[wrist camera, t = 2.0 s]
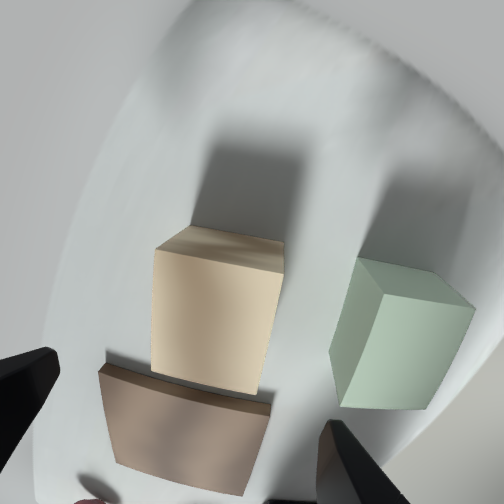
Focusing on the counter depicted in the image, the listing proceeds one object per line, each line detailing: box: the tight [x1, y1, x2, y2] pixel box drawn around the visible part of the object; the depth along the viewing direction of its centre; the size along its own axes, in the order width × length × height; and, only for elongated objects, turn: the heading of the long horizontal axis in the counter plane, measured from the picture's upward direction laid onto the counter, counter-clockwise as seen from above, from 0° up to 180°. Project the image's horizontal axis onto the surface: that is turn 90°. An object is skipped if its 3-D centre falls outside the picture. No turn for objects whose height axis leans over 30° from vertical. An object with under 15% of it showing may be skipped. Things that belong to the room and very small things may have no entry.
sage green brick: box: [329, 257, 476, 410], centre depth 15 cm, size 5×6×5 cm
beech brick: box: [151, 225, 284, 395], centre depth 15 cm, size 5×6×5 cm
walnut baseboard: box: [98, 363, 271, 496], centre depth 21 cm, size 12×12×1 cm
